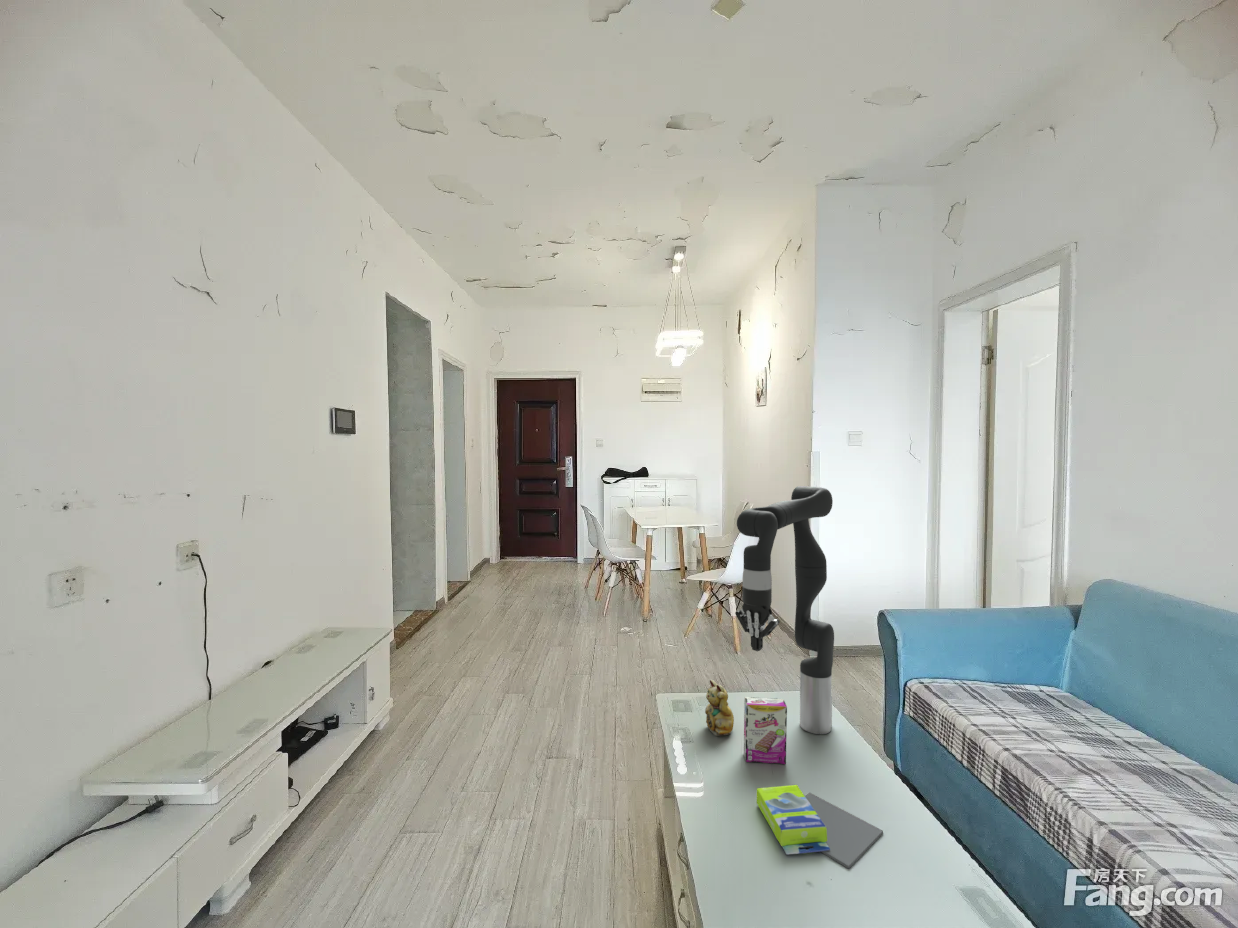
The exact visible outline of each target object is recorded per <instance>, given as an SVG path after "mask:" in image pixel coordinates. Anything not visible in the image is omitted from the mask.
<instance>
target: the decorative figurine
mask: <svg viewBox="0 0 1238 928" xmlns="http://www.w3.org/2000/svg"><path fill="white" fill-rule="evenodd" d="M709 684H710V687H709V688H708V689H707V692H706V695H705V698H706V700H707V703H708V704H707V705H706V707H705V710H704V713H705V715H706V718H705V719H706V721H705V723H706V725H707V728H708V730H709V731H710V732H711V733H712V734H713V735H714V736H715V737H718V736H724V737H725V736H729V735H731V733H732V732H733V730H734V724H735V723H734V722H735V721H734V720H735V718H734V713H733V711H732V709H731V708H730V706H729V702H728V700H729V699H728V698H729V693H728V692H727V690H726V688H724V686H722V685H721V684H717V682H716V681H714V680H713V679H709Z"/></svg>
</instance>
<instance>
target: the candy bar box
mask: <svg viewBox="0 0 1238 928" xmlns="http://www.w3.org/2000/svg"><path fill="white" fill-rule="evenodd" d="M743 704H744V706H743V708H744V710H743V711H744V712H743V719H744V720H743V722H744V723H743V756H744V760H745V762H746V763H758V764H759V763H761V764H777V765H786V763H787V736H788V735H787V726H788V720H787V719H788V706H787V704H786V701H785V699H783V698H771V697H770V698H769V697H767V698H766V697H752V696H751V697H750V696H744V703H743Z"/></svg>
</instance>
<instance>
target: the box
mask: <svg viewBox="0 0 1238 928" xmlns="http://www.w3.org/2000/svg"><path fill="white" fill-rule="evenodd" d="M805 796H806V795H805V794H804V793H803V791H802V790H801V789H800V787H799V786H798V784H794V785H793V784H792V785H781V786H770V787H760V788H759V787H757V788H756V804H757V806H758V808H759V810H760V811H761V813H762V815H763V817H764V819H765V820H766V822H767V824H768V826H769V827H770V828H771V830H772V833H773V835H774V836H775V838H776V840H777V841H778V843H779V845H780V846H781V847H782V850H783V851H784V853H785V855H786V856H787V855H797V854H798V855H799V854H807V853H808V854H809V853H817V852H820V851H827V850H830V848H829V847H828V845H827V844H826V841H827V828H826V826H825V824H824V823H823V821H822V820H821V819H820V817H819V816H818V814H817V813H816V812H815V810H814V809H813V807H812V806H811V804H810V803H809V801H808V800H807V799H806V797H805ZM806 848H808V849H806Z"/></svg>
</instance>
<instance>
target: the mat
mask: <svg viewBox="0 0 1238 928" xmlns="http://www.w3.org/2000/svg"><path fill="white" fill-rule="evenodd" d="M804 796H805V797H806V799H807V800H808V801H809V803H810V804H811V806H812V807H813V809H814V810H815V812H816V813H817V814H818V816H819V817H820V819H821V820H822V821H823V823H824V824H825V826H826V828H827V841H826V844H827V845H828V847H829V848H830V850H827V851H819V852H820V853H821V854H824V855H825V857H828V858H830V859H832V860H833V861H835V862H837V863H838V864H840V865H842V866H844V867H845V868H846V869H850V868H851V867H853V865H854V864H855V863H856V862H857V861H858V860H859V859H860V858H861V857H862V856H863V855H864V854H865V853H866V852H867V851H868V850H869V848H871V846H873V845H874V843H876V841H877V840H878V839H879V838H880V837H882V835H883V834H884V829H880V828H879V827H878V826H875V825H873V824H871V823H870V822H867V821H866V820H864V819H861V818H860V817H857V816H856V815H854V814H852V813H850V812H848V811H846V810H845V809H842V808H840V807H838V806H836V805H835V804H832V803H831V802H829V801H827V800H825V799H823V798H821V797H819V796H817V795H816V794H813V793H812V792H808V793H807V794H806V795H804Z"/></svg>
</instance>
